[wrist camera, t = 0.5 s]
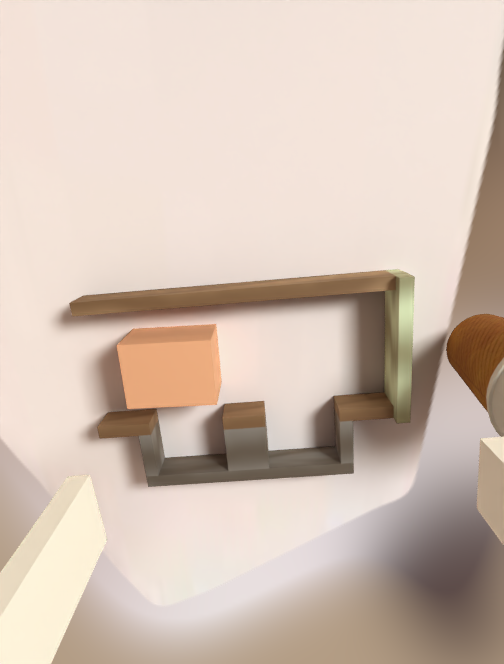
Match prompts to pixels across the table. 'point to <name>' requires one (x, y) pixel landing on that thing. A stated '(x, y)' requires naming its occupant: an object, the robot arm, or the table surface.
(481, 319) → the disposable coffee cup
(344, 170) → the table surface
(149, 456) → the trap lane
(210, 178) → the table surface
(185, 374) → the terracotta block
